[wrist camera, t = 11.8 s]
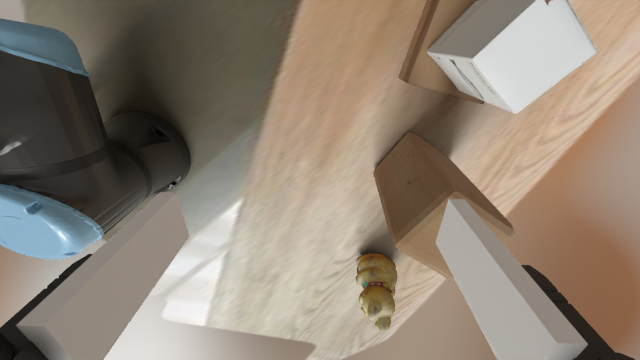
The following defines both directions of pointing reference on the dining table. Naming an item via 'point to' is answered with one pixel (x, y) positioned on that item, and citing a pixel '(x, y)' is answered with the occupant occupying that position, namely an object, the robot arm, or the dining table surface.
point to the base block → (419, 67)
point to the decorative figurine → (377, 288)
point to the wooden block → (427, 199)
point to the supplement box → (512, 49)
